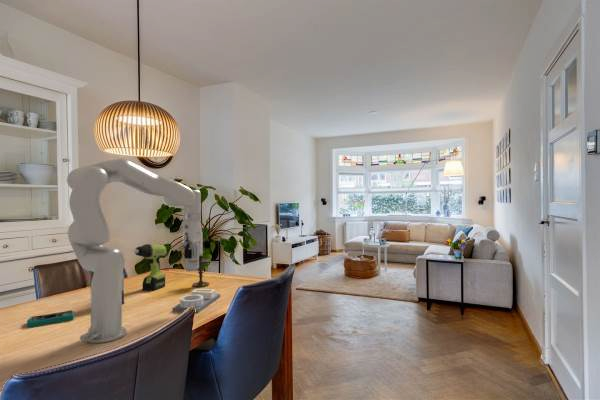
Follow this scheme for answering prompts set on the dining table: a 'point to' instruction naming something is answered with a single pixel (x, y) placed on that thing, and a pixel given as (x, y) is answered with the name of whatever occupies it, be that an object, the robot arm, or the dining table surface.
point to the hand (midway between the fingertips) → (191, 256)
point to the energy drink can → (193, 258)
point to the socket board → (206, 302)
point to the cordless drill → (152, 265)
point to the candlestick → (201, 262)
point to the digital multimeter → (50, 319)
